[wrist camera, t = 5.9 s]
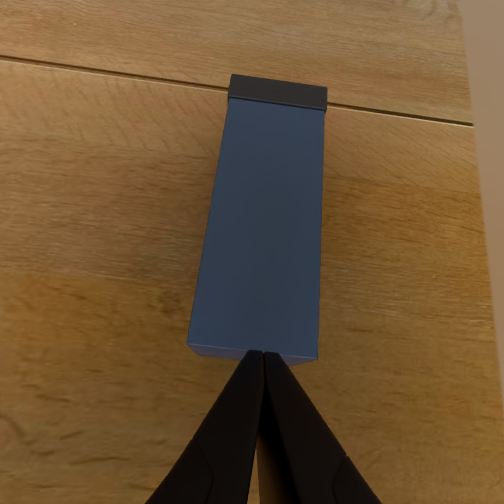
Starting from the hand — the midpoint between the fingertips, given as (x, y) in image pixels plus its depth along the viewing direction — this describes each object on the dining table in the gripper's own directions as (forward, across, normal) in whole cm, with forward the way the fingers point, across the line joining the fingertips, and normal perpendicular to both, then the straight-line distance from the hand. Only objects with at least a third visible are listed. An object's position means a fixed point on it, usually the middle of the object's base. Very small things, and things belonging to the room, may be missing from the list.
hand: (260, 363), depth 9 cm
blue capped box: (+4, 0, +4) cm, 6 cm away
